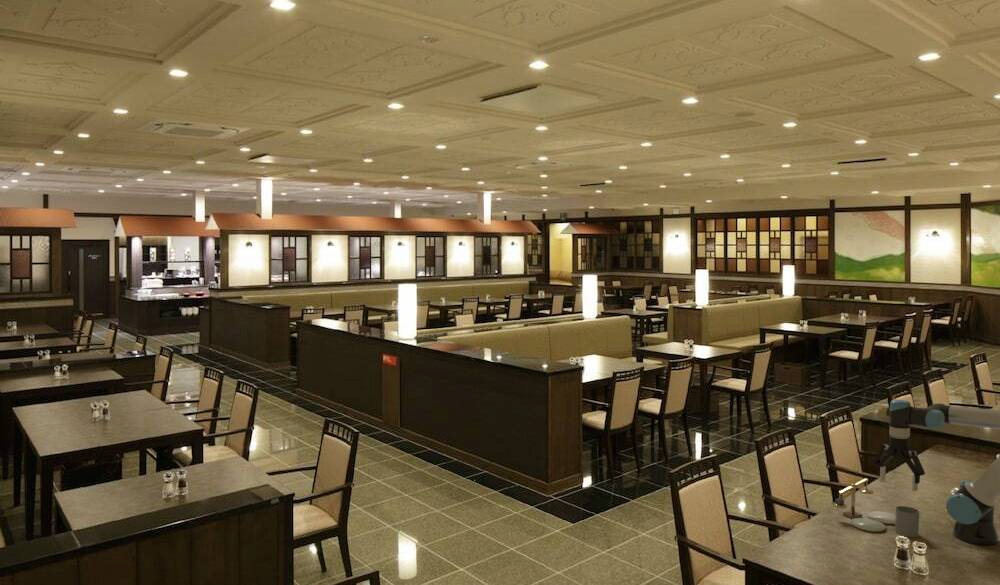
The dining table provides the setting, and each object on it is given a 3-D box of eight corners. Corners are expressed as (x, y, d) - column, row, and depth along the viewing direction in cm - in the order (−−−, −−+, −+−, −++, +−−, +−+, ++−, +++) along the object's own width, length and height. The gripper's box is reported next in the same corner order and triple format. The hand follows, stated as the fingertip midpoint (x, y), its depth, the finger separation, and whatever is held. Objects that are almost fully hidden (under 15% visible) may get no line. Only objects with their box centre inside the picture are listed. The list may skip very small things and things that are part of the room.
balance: (864, 510, 310) (865, 476, 309) (875, 514, 305) (876, 479, 304) (829, 517, 301) (830, 481, 300) (839, 521, 296) (841, 485, 295)
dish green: (892, 529, 288) (892, 527, 288) (870, 534, 283) (870, 531, 283) (865, 518, 300) (865, 516, 300) (844, 523, 295) (844, 520, 295)
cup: (921, 538, 280) (922, 514, 279) (899, 536, 281) (900, 512, 281) (913, 530, 288) (914, 506, 287) (892, 528, 290) (893, 505, 289)
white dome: (908, 522, 296) (908, 519, 296) (887, 526, 291) (887, 524, 291) (881, 512, 308) (881, 509, 308) (861, 516, 303) (861, 513, 303)
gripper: (935, 442, 280) (934, 492, 281) (875, 429, 301) (874, 476, 302) (925, 444, 276) (923, 496, 277) (865, 431, 298) (864, 479, 298)
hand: (898, 486), depth 290 cm, fingers open, 13 cm apart
